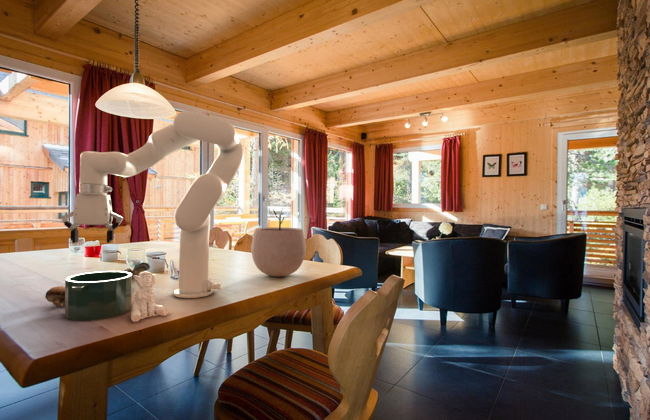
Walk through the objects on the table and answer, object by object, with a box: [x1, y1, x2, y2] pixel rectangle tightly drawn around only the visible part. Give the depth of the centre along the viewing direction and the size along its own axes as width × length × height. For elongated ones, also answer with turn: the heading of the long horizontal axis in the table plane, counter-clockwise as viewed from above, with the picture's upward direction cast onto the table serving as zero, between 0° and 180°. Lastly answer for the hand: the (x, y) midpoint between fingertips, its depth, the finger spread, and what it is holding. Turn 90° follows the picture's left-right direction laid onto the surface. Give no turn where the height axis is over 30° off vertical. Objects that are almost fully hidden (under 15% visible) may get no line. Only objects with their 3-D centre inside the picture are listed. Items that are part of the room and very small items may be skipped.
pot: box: [64, 270, 133, 321], centre depth 99 cm, size 16×21×10 cm
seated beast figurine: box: [130, 271, 169, 323], centre depth 96 cm, size 10×9×12 cm
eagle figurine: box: [123, 262, 151, 281], centre depth 141 cm, size 8×7×9 cm
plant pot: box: [251, 208, 307, 278], centre depth 155 cm, size 24×24×30 cm
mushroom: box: [45, 285, 65, 308], centre depth 103 cm, size 8×8×6 cm
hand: (92, 242), depth 114 cm, fingers open, 9 cm apart
